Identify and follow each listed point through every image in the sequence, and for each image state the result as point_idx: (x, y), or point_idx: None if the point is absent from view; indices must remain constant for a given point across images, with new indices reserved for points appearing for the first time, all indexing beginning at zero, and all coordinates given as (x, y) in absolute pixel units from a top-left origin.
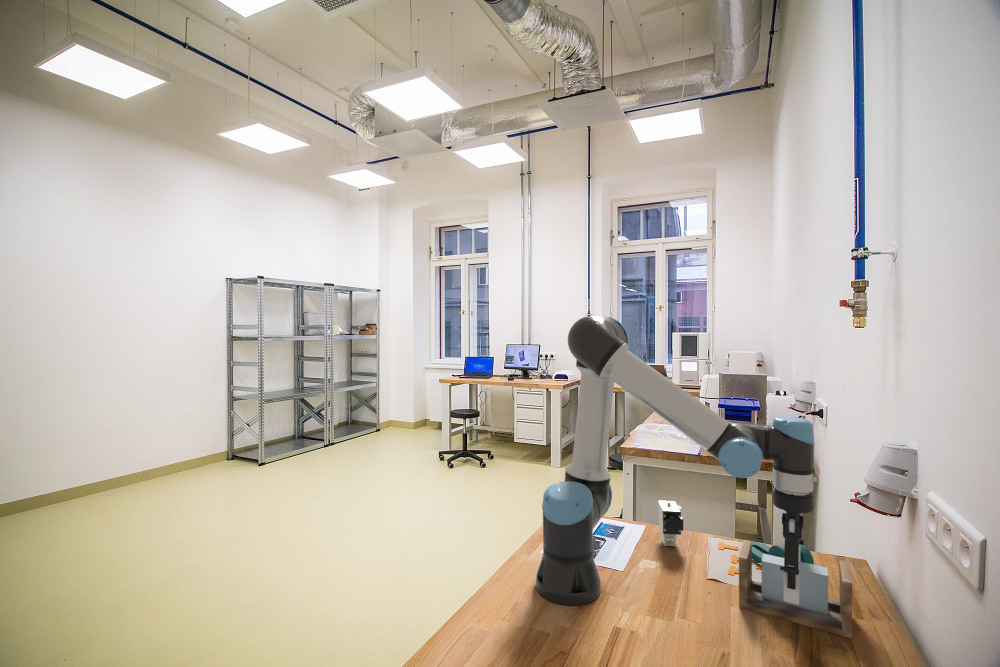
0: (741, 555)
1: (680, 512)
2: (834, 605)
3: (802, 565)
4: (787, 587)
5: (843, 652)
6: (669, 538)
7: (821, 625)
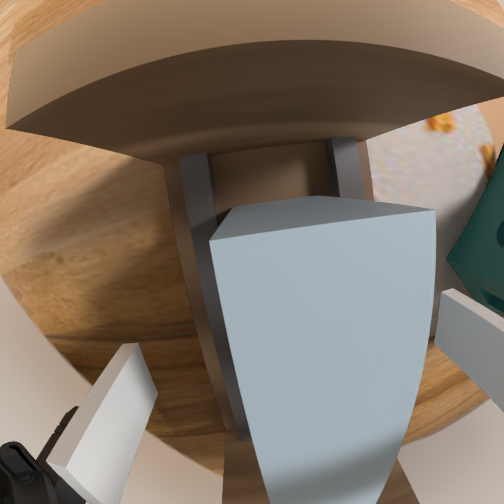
0: (53, 41)
1: None
2: None
3: (344, 479)
4: (75, 408)
5: (153, 421)
6: None
7: (216, 395)
